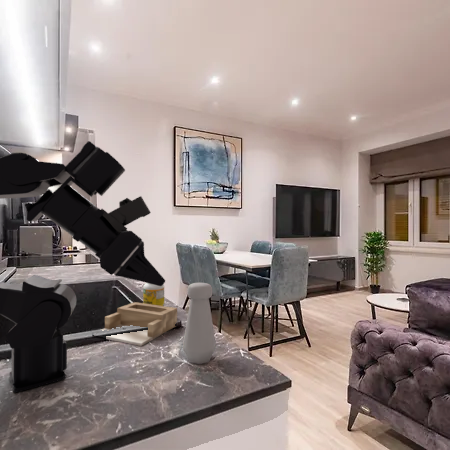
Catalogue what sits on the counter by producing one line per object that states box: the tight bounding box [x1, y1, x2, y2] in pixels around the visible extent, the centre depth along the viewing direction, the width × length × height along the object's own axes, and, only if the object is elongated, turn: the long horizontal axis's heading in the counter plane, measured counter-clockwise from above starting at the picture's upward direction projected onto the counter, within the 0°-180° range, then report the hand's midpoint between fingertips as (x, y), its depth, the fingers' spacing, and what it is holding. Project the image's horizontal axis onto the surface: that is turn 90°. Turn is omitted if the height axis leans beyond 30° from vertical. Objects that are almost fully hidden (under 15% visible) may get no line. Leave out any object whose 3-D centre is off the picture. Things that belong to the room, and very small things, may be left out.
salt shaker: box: [182, 282, 217, 365], centre depth 54 cm, size 6×6×13 cm
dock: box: [101, 301, 178, 347], centre depth 67 cm, size 13×12×4 cm
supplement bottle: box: [142, 282, 165, 306], centre depth 81 cm, size 5×5×10 cm
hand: (158, 278), depth 53 cm, fingers open, 9 cm apart
